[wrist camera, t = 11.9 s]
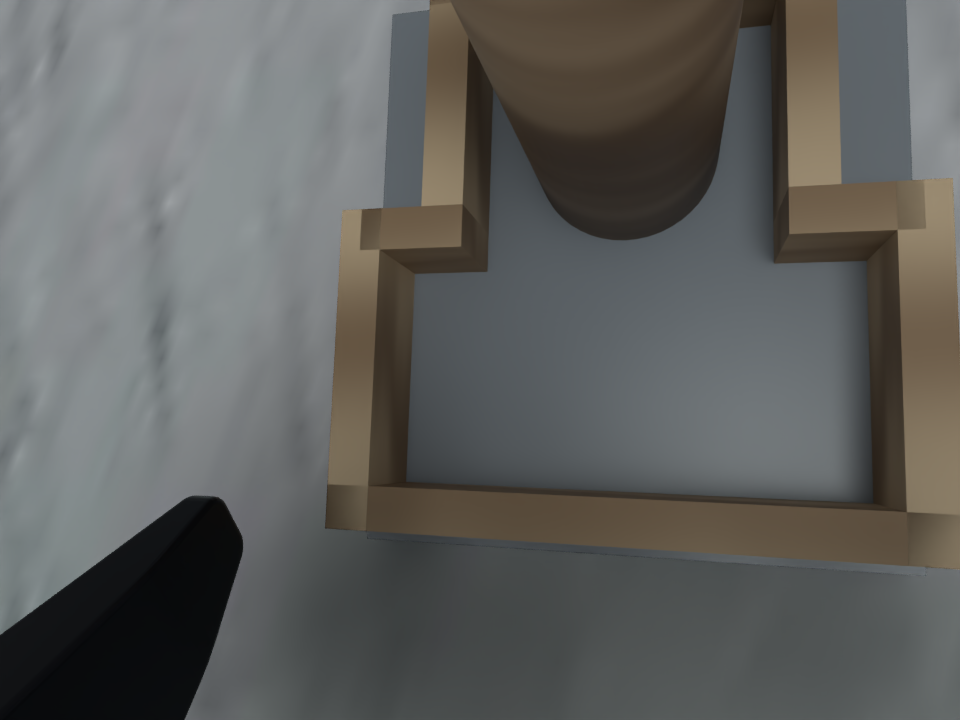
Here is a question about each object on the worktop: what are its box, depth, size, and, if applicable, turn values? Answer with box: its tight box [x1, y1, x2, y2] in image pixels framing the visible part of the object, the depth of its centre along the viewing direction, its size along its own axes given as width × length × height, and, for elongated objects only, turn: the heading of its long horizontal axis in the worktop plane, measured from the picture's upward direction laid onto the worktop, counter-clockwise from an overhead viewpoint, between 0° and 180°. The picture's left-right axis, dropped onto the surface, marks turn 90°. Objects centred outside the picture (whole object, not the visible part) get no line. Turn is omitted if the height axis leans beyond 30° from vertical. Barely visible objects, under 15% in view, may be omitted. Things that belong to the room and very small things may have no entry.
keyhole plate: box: [325, 0, 960, 576], centre depth 18 cm, size 14×13×4 cm
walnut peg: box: [450, 0, 744, 240], centre depth 13 cm, size 4×4×13 cm
